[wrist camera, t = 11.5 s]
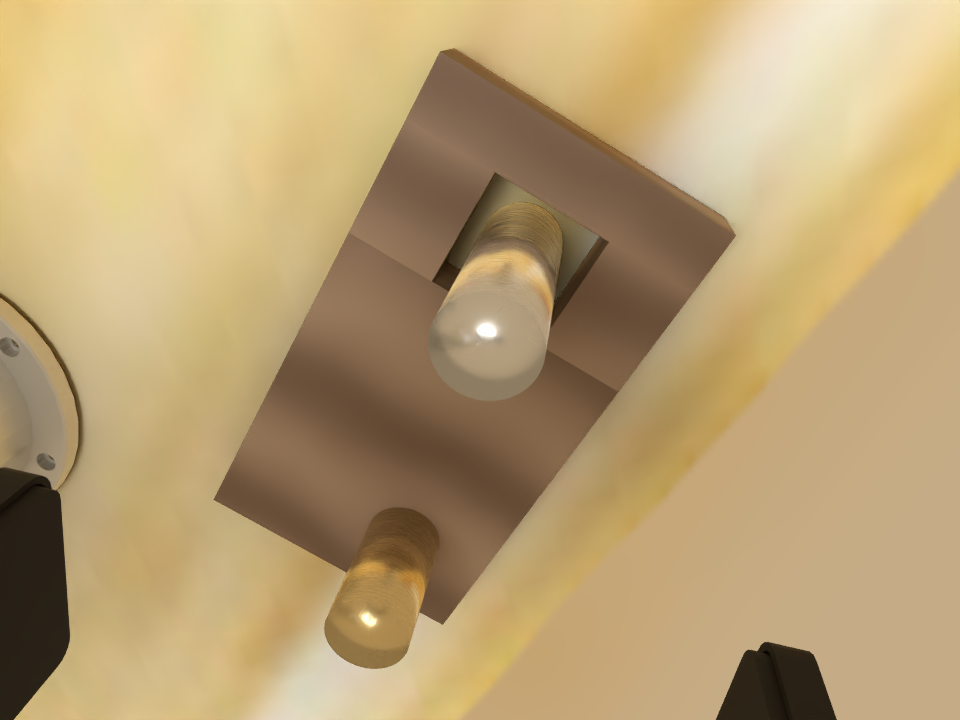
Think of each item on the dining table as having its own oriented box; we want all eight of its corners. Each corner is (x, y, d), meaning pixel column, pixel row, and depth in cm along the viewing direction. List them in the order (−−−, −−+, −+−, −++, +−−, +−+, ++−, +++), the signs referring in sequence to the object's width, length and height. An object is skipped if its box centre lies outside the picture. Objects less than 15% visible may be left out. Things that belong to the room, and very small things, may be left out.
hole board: (452, 585, 36) (442, 624, 33) (239, 468, 35) (213, 499, 32) (724, 217, 27) (735, 235, 25) (453, 48, 26) (440, 51, 24)
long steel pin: (509, 295, 30) (469, 419, 21) (466, 229, 29) (405, 328, 20) (578, 256, 29) (568, 368, 20) (535, 186, 28) (504, 269, 19)
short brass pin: (395, 578, 33) (358, 679, 28) (353, 525, 32) (307, 619, 27) (453, 551, 32) (426, 651, 27) (411, 496, 31) (375, 588, 26)
